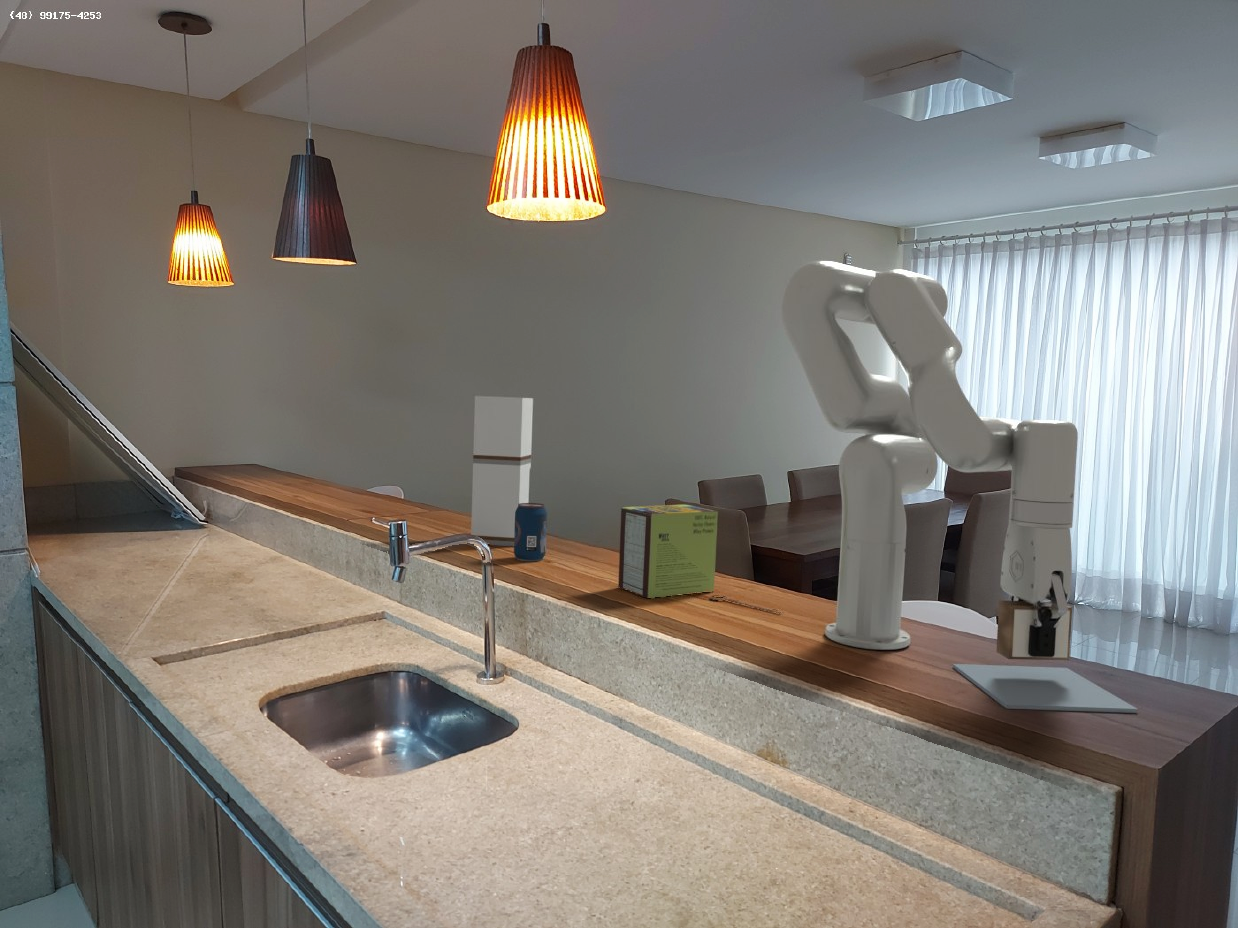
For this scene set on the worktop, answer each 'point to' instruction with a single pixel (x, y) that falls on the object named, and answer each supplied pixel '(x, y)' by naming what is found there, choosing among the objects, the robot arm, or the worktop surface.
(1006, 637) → the wooden block
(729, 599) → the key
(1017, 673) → the rubber mat
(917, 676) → the worktop surface
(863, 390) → the robot arm
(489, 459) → the banded white tower
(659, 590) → the protein box
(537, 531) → the soda can
